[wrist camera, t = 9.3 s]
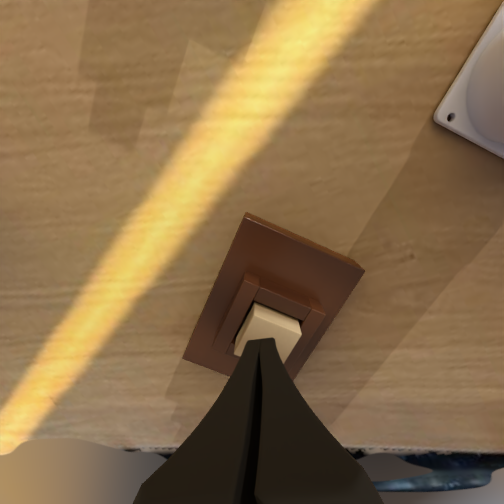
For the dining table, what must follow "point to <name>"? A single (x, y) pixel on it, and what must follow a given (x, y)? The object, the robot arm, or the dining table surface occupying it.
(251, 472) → the robot arm
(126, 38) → the dining table surface
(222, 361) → the tiered wooden pedestal
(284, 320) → the key
